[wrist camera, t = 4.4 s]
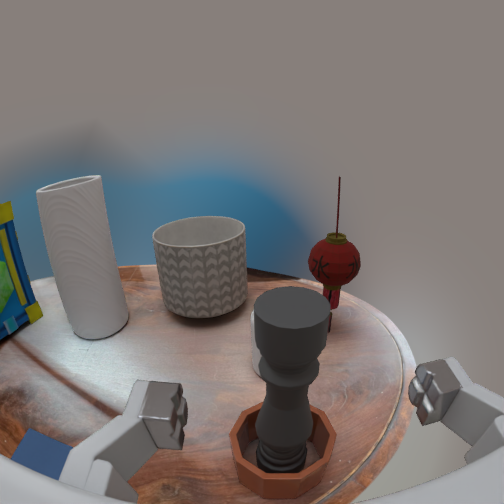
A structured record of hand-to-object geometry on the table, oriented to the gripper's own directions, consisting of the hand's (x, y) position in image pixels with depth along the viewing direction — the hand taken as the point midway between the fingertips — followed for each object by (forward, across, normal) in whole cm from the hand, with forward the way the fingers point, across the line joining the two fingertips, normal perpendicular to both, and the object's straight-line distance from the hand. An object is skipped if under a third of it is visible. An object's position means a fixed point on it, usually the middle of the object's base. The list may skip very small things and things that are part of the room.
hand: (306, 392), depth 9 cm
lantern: (+40, +13, -30) cm, 51 cm away
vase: (+43, -36, -30) cm, 64 cm away
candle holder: (+12, +1, -30) cm, 32 cm away
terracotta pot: (+12, +1, -29) cm, 32 cm away
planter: (+51, -12, -30) cm, 61 cm away
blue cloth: (+5, -32, -29) cm, 43 cm away
